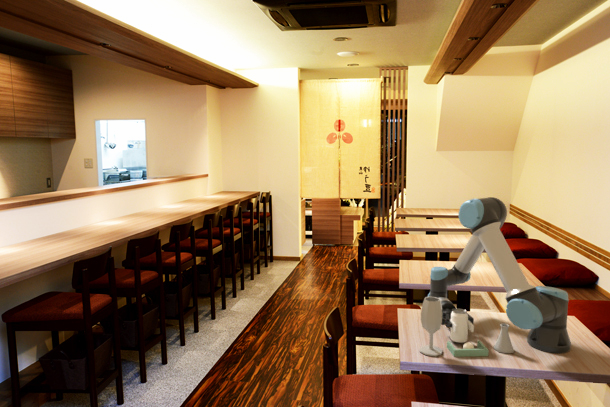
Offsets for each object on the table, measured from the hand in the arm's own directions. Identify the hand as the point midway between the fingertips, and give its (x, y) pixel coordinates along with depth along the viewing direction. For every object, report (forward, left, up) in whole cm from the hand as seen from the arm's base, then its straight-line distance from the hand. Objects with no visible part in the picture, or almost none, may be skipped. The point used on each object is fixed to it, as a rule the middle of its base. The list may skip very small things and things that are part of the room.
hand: (464, 328), depth 173 cm
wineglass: (+10, +10, -8) cm, 16 cm away
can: (+3, -4, -7) cm, 9 cm away
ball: (-2, +3, -6) cm, 7 cm away
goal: (-2, +2, -8) cm, 8 cm away
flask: (-13, -7, -8) cm, 17 cm away
